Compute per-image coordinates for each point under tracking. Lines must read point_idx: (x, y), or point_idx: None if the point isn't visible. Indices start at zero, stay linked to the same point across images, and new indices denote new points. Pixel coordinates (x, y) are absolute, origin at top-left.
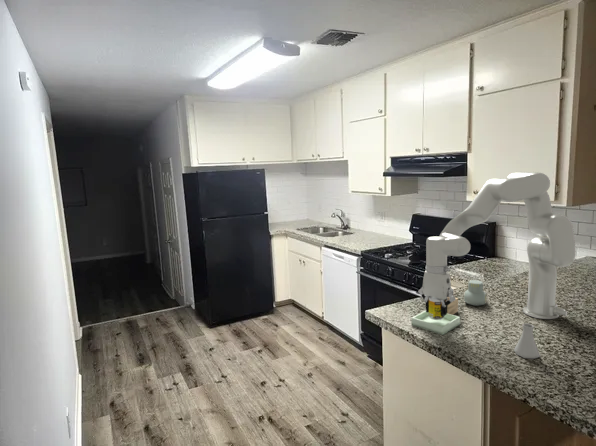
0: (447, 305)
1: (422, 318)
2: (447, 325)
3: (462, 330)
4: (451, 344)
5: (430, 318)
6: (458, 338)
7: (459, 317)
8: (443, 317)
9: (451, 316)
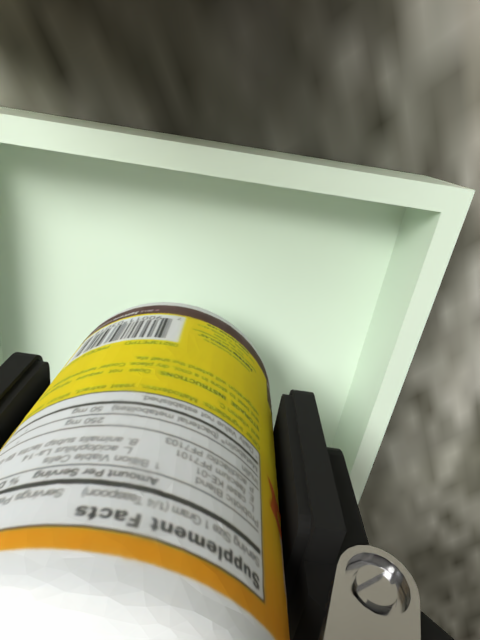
0: (379, 576)
1: (2, 320)
2: (359, 488)
3: (472, 328)
4: (418, 580)
5: (72, 270)
6: (454, 488)
7: (466, 212)
8: (267, 378)
9: (330, 193)
